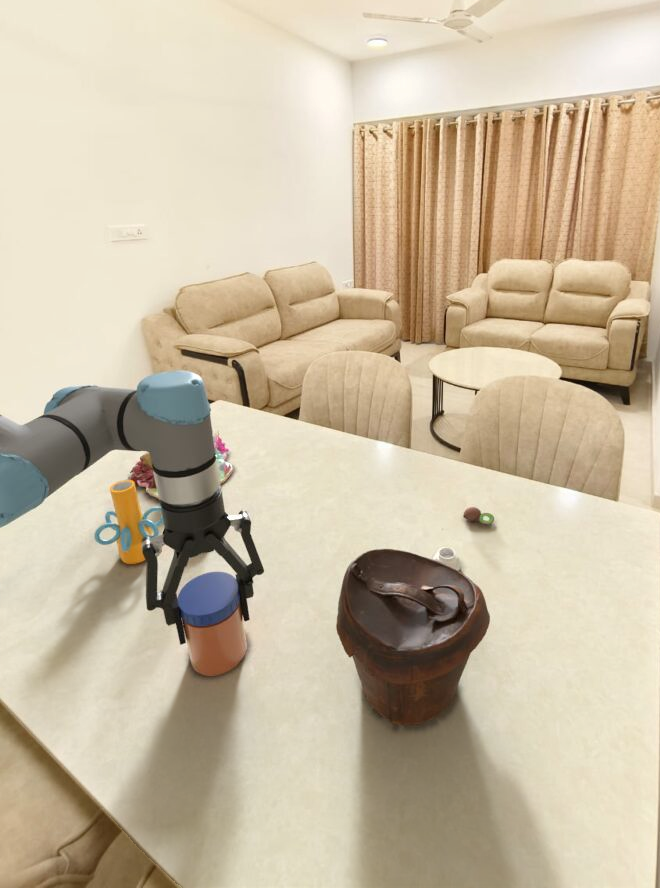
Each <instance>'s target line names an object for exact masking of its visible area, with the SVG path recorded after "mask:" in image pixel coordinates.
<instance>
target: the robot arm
mask: <svg viewBox="0 0 660 888" xmlns="http://www.w3.org/2000/svg"><path fill="white" fill-rule="evenodd" d="M205 385H206V384H205V382H204V380H203V379H202V377H201V376H200V375H199V374H197V373H195V372H192V371H189V370H173V371H161V372H157V373H153V374H150V375H148V376H146V377H144V378H143V379H141V380H140V381H139V382H138V384H137V387H136V389H134V388H119V387H106V386H98V385H89V384H88V385H81V386H67V387H64V388H61V389H59V390H57V391H56V392H54V394H52V397H51V399H50V400H49V401H48V402H47V403H46V405H45V407H44V410H43V414H42V415H40V416H38V417H35V418H34V419H32V420H30V421H28V422H26V423H24V424H18V423H17V422H15V421H13V420H11V419H10V418H7V417H6V416H4V415H2V414H0V528H3V527H5V526H7V525H9V524H11V523H13V522H14V521H16V520H17V519H19V518H20V517H22V516H24V515H25V514H27V513H29V512H31V511H33V510H34V509H36V508H38V507H39V506H41V505H42V504H43V502H45V500H46V499H47V498H49V497H50V496H51V495H52V494H54V493H55V492H56V491H58V490H59V489H60V488H62V487H63V486H64V485H66V484H67V483H69V482H70V481H71V480H72V479H74V478H75V477H77V476H78V475H80V474H81V473H83V472H85V471H86V470H88V468H90V467H91V466H92V465H94V464H95V463H97V462H98V461H100V460H101V459H103V458H104V457H105V456H106V455H108V454H109V453H110V452H112V451H128V452H146V453H147V452H148V453H149V454H150V459H151V463H152V466H153V473H154V478H155V482H156V487H157V492H158V496H159V498H160V500H159V505H160V506H159V507H161V511H162V514H161V517H162V516H163V521H164V522H163V524H164V525H163V526H164V528H163V531H162V534H159V535H158V536H157V537H155V538H152V539H151V537H148V536H147V537H144V538H143V539H142V553H143V555H144V557H145V559H146V560H145V562H146V563H145V570H146V571H145V603H146V610H147V611H149V612H151V611H154V610H156V609H157V608H160V609H162V611H163V615H164V620H165V624H166V625H167V626H168V627H169V626H172V625H175V626H176V631H177V632H176V633H177V636H178V641H179V645H184V644H187V641H186V636H185V631H184V627H183V622H182V618H181V616H180V611H179V606H178V595H177V593H178V589H179V586H180V583H181V580H182V578H183V577H182V576H183V574H184V572H185V568H186V567H187V566H188V563H189V560H190V559H191V558H195V557H198V556H199V555H201V554H208V553H212V552H216V553H217V555H218V556H219V557H221V558H222V559H223V560H224V561H225V562H226V563H227V564H228V565H229V566H230V569H232V570H233V571H234V572H235V573H236V574H235V578H236V580H237V582H238V585H239V591H240V602H241V609H242V616H243V622H247V621H248V622H249V621H250V620H251V619H250V611H249V605H248V599H251V598H253V597H254V594H255V592H254V586H253V584H254V577H256V576H261V575H263V574H264V572H265V568H264V566H263V563H262V560H261V558H260V554H259V552H258V550H257V548H256V544H255V542H254V539H253V537H252V534H251V530H252V521H251V518H250V516H249V514H248V512H247V510H245V509H242V510H240V511H239V512H238V514H234V515H229V514H228V513H227V512H226V509H225V504H224V496H223V488H222V486H221V484H220V475H219V469H218V463H217V456H216V453H215V448H214V440H213V436H214V435H213V434H214V432H213V433H212V430H213V427H212V426H213V425H212V419H211V412H212V410H211V409H212V408H211V404H210V402H209V400H208V395H207V390H206V386H205ZM230 527H233V529H234V531H236V532H238V533H239V534H240V536H241V538H242V539H241V540H242V542H243V544H244V547H245V549H246V551H247V554H248V557H249V559H250V563H249V564H247V563H246V562H245V560H243V559H242V557H240V555H239V554H238V552H237V551H236V550H235V549H234V547H232V546H231V544H230V543H229V542H228V541H227V540H226V538H225V535H226V534H227V532H228V531H229V529H230ZM165 545H166V546H167V547H169V548H170V549H172V550H173V556H172V559H171V562H170V565H169V569H168V571H167V574H166V578H165V580H164V584H163V587H162V589H160V592H158V575H159V574H158V572H159V571H158V570H159V564H158V557H159V556H160V554H161V553H162V549H163V546H165Z"/></svg>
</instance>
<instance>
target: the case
mask: <svg viewBox="0 0 660 888" xmlns="http://www.w3.org/2000/svg"><path fill="white" fill-rule="evenodd" d="M485 598H486V597H485V595H484V593H483V591H482V590H481V588H480V586H479V585H477V584H476V583H475V582H473V581H472V580H471V579H470V577H468V576H467V575H466V574H464V573H463V572H461V571H460V570H456V569H454V568H451V567H449V566H447V565H444V564H443V563H440V562H438V561H435V560H433V558H432V559H431V558H430V557H429V558H428V557H425V556H422V555H419V554H416V553H413V552H410V551H405V550H400V549H393V548H378V549H377V548H376V549H370V550H367V551H364V552H363V553H361V554H359V555H358V556H356V558H354V560H353V561H351V562H350V563H349V565H348V567H346V571H345V572H344V575H343V579H342V583H341V588H340V593H339V598H338V605H337V615H336V625H335V628H336V633H337V635H338V638H339V640H340V643H341V646H342V648H343V650H344V652H345V654H346V655H347V656H348V657H349V658H351V657H352V660H353V663H354V665H355V666H354V667H355V669H356V672H357V676H358V677H359V680H360V683H361V687H362V690H363V694H364V696H365V698H366V699H367V701H368V702H369V704H370V706H371V707H372V708H373V709H374V710H375V712H377V713H378V714H380V715H381V716H382V717H384V718H386V719H387V720H388V721H389V722H390V723H393V724H395V725H398V726H407V725H408V726H409V725H419V724H424V723H426V722H430V721H431V720H434V719H435V718H438V717H439V716H440V715H441V714H443V713H444V712H445V711H446V710H447V709H448V708H449V706H450V705H451V704H452V702H453V700H454V697H455V693H456V690H457V688H458V686H459V683H460V680H461V678H462V676H463V674H464V670H465V668H466V665H467V663H468V661H469V659H470V656H471V654H472V653H473V651H474V650H476V649H477V647H479V644H480V643H481V642H482V641H483V639H484V637H485V636H486V634H487V631H488V629H489V626H490V623H491V615H490V612H489V610H488V605H487V602H486V599H485Z"/></svg>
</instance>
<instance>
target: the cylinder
mask: <svg viewBox="0 0 660 888" xmlns="http://www.w3.org/2000/svg"><path fill="white" fill-rule="evenodd" d="M109 493H110V495H111V500H112V504H113V508H114V510H108V511H107V512H106V513H105V516H104V518H105V519H104V520H105V522H106V523H104V524H102V525H100V526H99V527H98V528H97V529H96V530H95V533H94V540H95V542H96V543H97V544H98V545H102V546H107V545H111V544H113V543H115V542H116V545H117V549H118V554H119V557H120V560H121V562H123V563H124V564H127V565H136V564H139V563H142V562H144V561H145V562H146V559H145V557H144V555H143V553H142V539H143V538H144V537H147V536H148V537H151V539H152V538H155V537H157V536H160V532H159V528H158V527H159V526H161V525H162V524H164V521H163V516H162V511H161V506H153V507H150V508H149V509H146V511H145V512H144V513H143V514H142V509H141V506H140V501H139V497H138V492H137V488H136V483H134V481H132V480H130V479H124V480H119V481H116V482H115V483H113V484H111V485H110V487H109ZM154 512H159V513H161V517H160V519H159V520H158V521H156V522H154V521H152V520H150V519H148V516H149V515H150V514H152V513H154ZM111 516H113V517H115V518H116V520H117V523H115V522H112V519H111ZM107 528H108V529H109V528H110V529H112V530H113V531H116V532H115V535H114V536H113V537H112V538H110V539H105V540H104V539H102V538H101V536H100V535H101V532H103V530H106V529H107ZM151 529H152V530H151Z"/></svg>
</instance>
